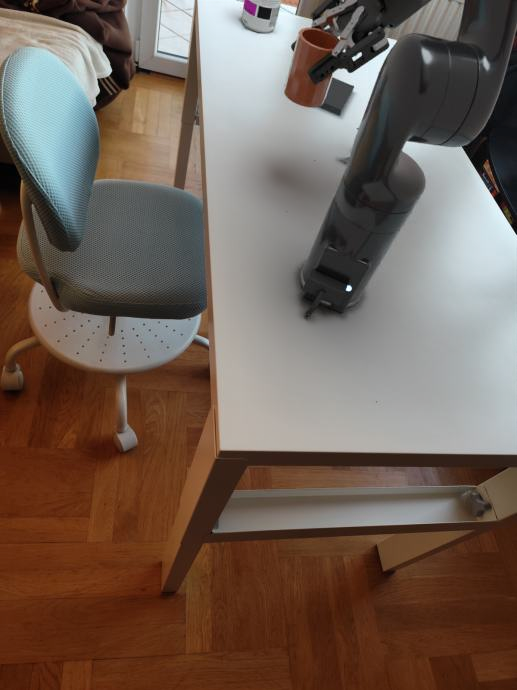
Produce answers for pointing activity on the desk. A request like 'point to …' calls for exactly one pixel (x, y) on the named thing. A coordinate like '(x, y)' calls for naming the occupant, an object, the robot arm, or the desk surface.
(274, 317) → the desk surface
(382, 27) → the robot arm
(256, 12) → the supplement can
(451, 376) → the desk surface
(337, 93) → the scale
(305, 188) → the desk surface
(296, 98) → the terracotta flower pot
